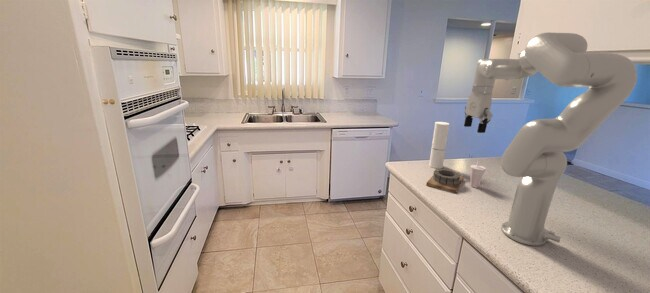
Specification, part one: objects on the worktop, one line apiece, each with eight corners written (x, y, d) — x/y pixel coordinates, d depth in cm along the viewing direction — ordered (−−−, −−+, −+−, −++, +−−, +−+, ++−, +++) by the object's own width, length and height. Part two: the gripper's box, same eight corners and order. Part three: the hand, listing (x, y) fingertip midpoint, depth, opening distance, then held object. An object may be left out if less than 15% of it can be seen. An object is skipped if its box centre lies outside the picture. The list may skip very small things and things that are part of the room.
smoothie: (471, 182, 135) (476, 155, 131) (484, 187, 130) (490, 159, 126) (464, 185, 131) (469, 157, 127) (477, 190, 126) (483, 161, 122)
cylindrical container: (440, 164, 158) (446, 121, 150) (444, 169, 151) (451, 124, 143) (427, 163, 158) (433, 121, 151) (430, 168, 151) (437, 124, 144)
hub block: (463, 180, 137) (465, 170, 135) (455, 193, 123) (457, 182, 121) (436, 173, 144) (438, 164, 143) (426, 185, 130) (427, 175, 129)
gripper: (462, 87, 122) (455, 124, 127) (487, 92, 105) (478, 135, 111) (477, 87, 122) (470, 124, 128) (505, 93, 106) (495, 135, 112)
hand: (474, 129), depth 119 cm, fingers open, 9 cm apart
